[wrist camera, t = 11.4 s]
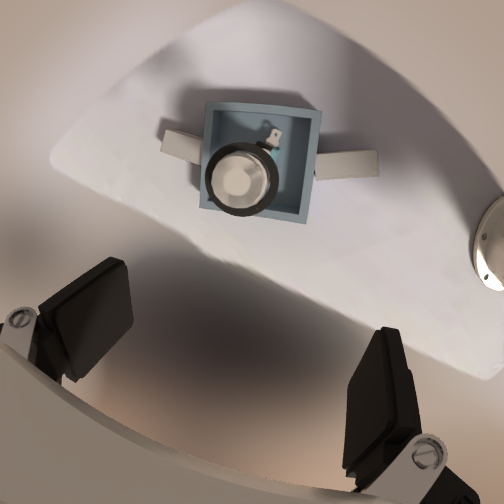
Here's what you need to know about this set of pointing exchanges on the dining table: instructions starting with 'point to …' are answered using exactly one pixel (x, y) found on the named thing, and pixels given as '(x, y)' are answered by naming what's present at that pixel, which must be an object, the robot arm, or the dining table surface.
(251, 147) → the push button
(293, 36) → the dining table surface
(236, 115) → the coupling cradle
